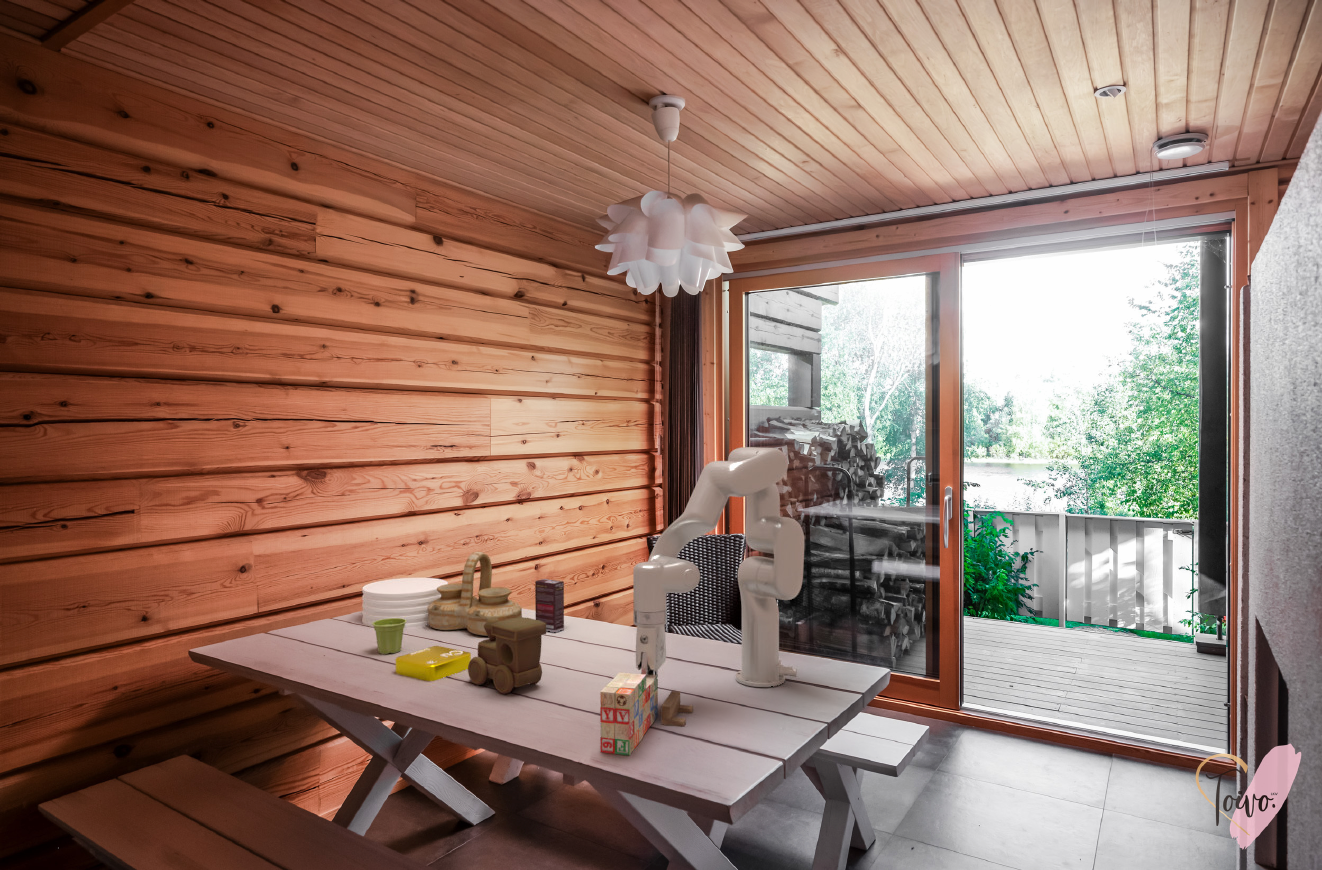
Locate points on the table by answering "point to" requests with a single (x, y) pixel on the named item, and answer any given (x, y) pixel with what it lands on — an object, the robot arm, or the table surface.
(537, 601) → the supplement box
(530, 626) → the wooden toy train
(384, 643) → the plant pot
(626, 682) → the stack of blocks
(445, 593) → the ceramic vessel
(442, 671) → the element tile
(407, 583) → the plate stack
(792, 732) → the table surface
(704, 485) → the robot arm
